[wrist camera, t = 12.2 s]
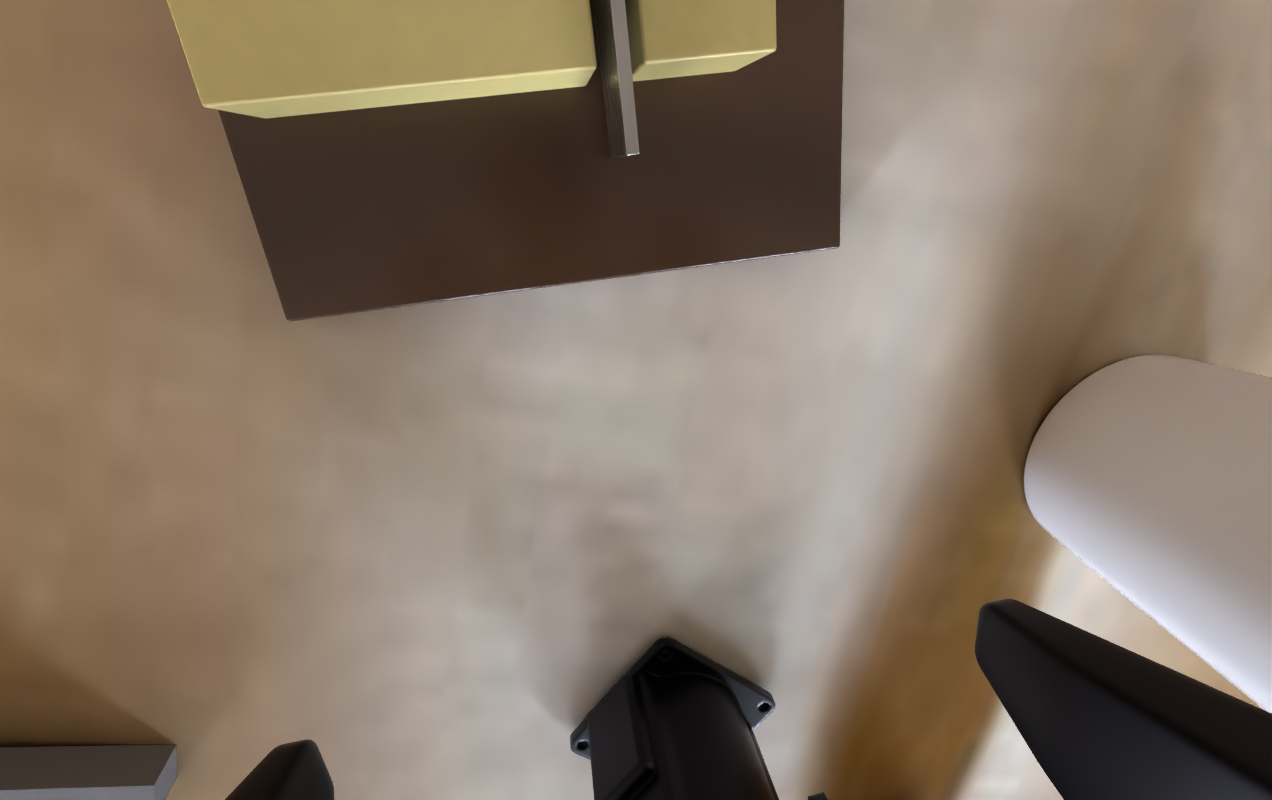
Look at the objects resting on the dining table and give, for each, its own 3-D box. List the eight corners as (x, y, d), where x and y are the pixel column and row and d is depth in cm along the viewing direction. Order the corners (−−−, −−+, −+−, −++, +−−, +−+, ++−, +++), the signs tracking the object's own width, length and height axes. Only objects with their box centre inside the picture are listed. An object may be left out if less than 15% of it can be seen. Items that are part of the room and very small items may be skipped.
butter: (587, 85, 16) (597, 68, 13) (264, 119, 15) (200, 107, 12) (567, -79, 14) (574, -138, 12) (212, -52, 14) (128, -109, 11)
